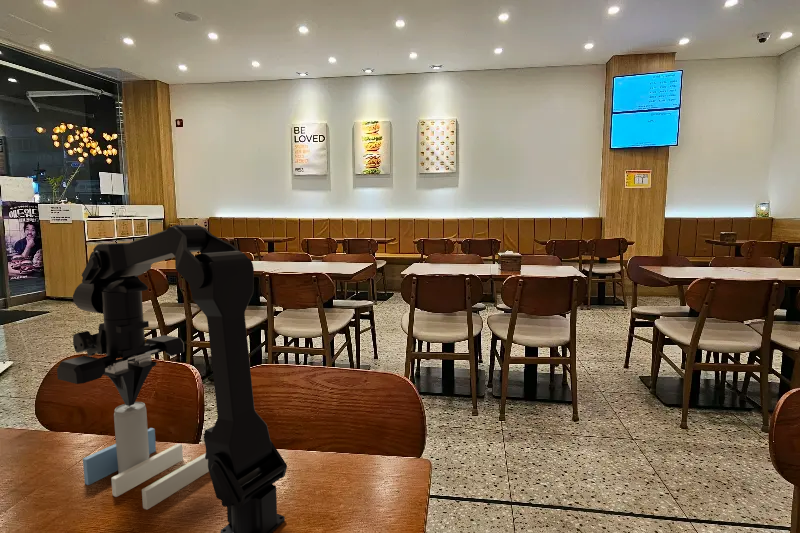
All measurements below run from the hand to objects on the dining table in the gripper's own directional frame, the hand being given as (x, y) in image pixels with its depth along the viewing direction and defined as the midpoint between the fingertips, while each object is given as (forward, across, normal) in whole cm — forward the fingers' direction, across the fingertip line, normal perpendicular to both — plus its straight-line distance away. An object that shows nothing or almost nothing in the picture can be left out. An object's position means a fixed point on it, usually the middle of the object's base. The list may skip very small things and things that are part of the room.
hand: (129, 405), depth 77 cm
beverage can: (+12, 0, 0) cm, 12 cm away
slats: (+12, 0, +4) cm, 13 cm away
